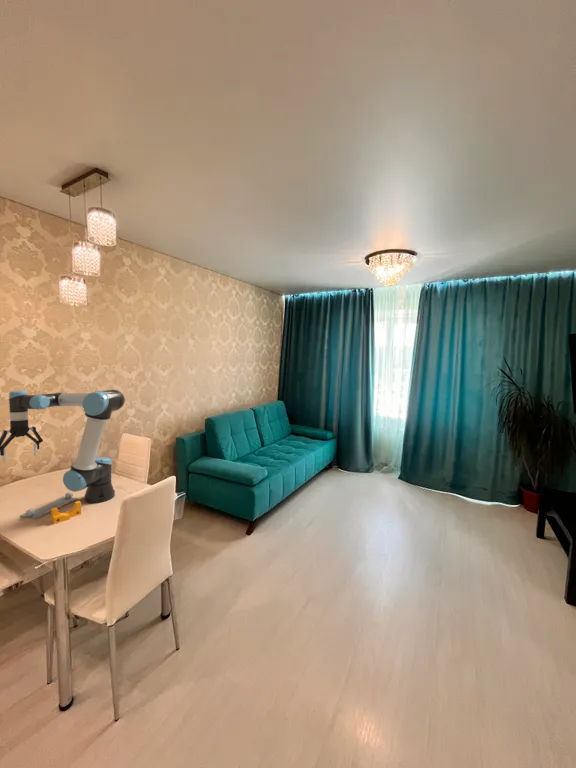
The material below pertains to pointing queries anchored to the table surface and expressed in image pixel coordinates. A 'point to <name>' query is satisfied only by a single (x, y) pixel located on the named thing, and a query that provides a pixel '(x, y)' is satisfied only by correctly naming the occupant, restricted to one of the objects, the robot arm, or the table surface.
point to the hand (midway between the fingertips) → (20, 458)
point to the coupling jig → (49, 507)
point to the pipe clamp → (60, 517)
